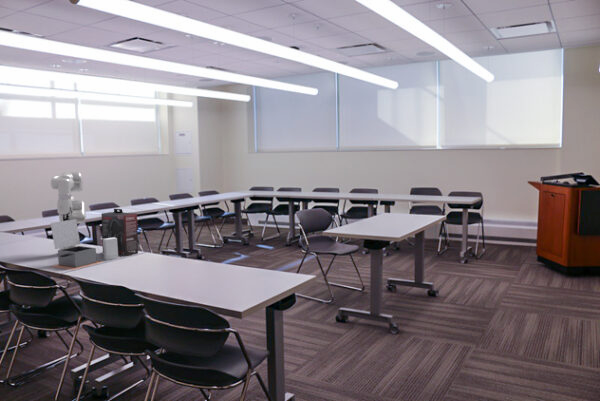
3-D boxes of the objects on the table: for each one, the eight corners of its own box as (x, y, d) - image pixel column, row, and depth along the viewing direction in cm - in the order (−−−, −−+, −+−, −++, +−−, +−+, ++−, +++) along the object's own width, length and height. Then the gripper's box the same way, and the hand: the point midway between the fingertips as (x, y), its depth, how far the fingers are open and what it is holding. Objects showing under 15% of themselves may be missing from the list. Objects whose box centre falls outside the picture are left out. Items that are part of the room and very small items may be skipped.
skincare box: (115, 257, 336) (114, 236, 334) (118, 259, 331) (117, 238, 329) (103, 259, 330) (102, 238, 329) (106, 260, 326) (105, 239, 324)
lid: (55, 248, 308) (52, 249, 309) (80, 244, 324) (76, 244, 326) (51, 222, 307) (48, 223, 309) (76, 219, 324) (72, 219, 325)
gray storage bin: (53, 266, 306) (52, 251, 305) (84, 259, 328) (83, 245, 327) (70, 269, 299) (69, 253, 298) (101, 261, 321) (100, 247, 320)
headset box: (101, 253, 351) (100, 208, 348) (115, 249, 362) (114, 206, 359) (125, 256, 340) (124, 210, 337) (139, 253, 351) (137, 208, 348)
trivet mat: (50, 267, 308) (50, 266, 307) (82, 259, 329) (82, 258, 329) (72, 270, 298) (72, 269, 298) (103, 262, 320) (103, 262, 320)
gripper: (52, 197, 324) (53, 224, 325) (67, 198, 317) (68, 225, 319) (62, 196, 330) (63, 222, 332) (77, 197, 324) (78, 224, 326)
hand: (66, 223), depth 325 cm, fingers closed
